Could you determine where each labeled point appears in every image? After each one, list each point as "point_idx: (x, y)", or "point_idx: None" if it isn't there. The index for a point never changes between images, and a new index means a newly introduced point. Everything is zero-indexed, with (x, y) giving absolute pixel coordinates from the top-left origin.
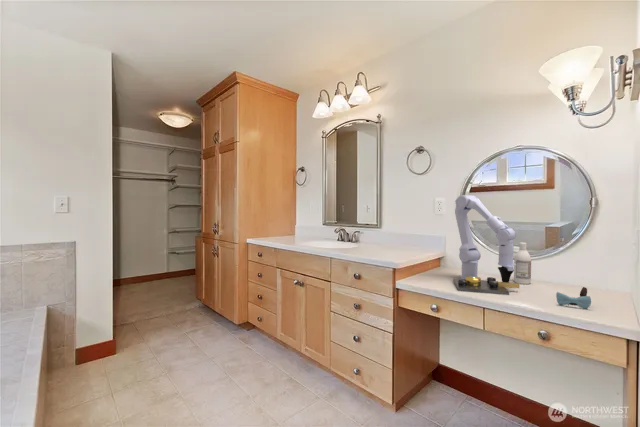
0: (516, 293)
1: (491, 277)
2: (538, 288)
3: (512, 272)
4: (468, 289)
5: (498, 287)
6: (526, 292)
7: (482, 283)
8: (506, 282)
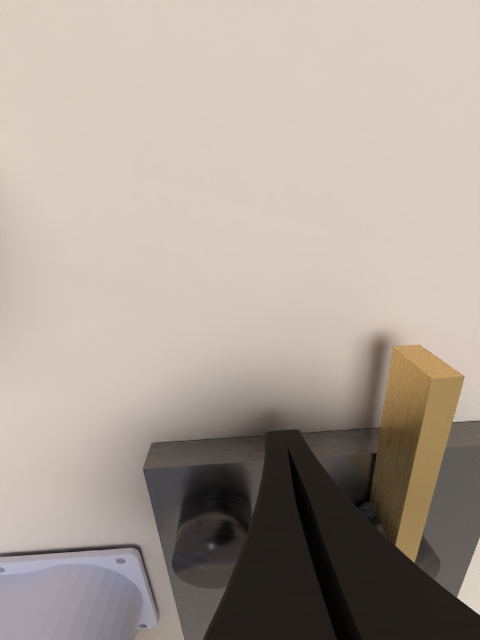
0: None
1: (176, 561)
2: (139, 19)
3: (440, 585)
4: None
5: None
6: (390, 259)
7: None
8: (424, 492)
